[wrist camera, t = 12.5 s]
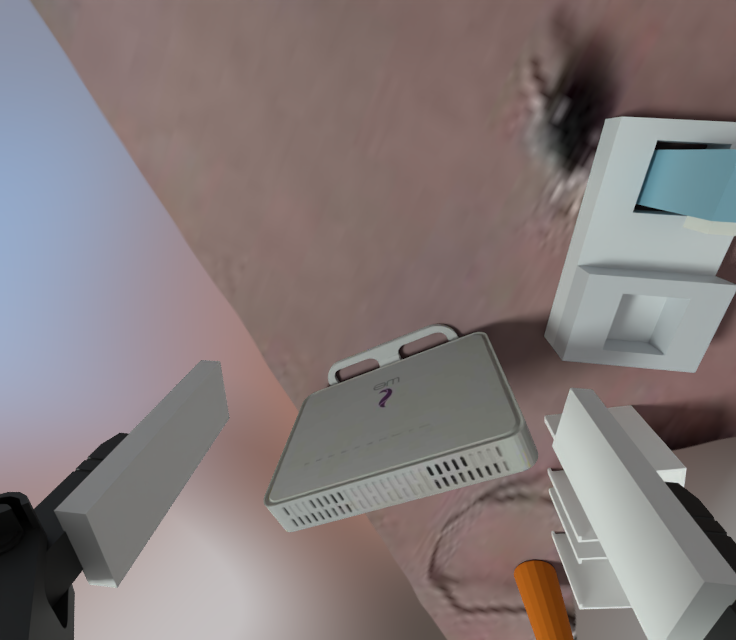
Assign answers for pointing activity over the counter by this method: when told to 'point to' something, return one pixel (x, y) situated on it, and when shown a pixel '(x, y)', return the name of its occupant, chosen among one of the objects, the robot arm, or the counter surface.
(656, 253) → the panel
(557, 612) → the spray bottle
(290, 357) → the counter surface
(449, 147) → the counter surface
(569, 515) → the storage container
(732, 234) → the plug
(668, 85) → the counter surface
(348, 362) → the network device
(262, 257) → the counter surface
